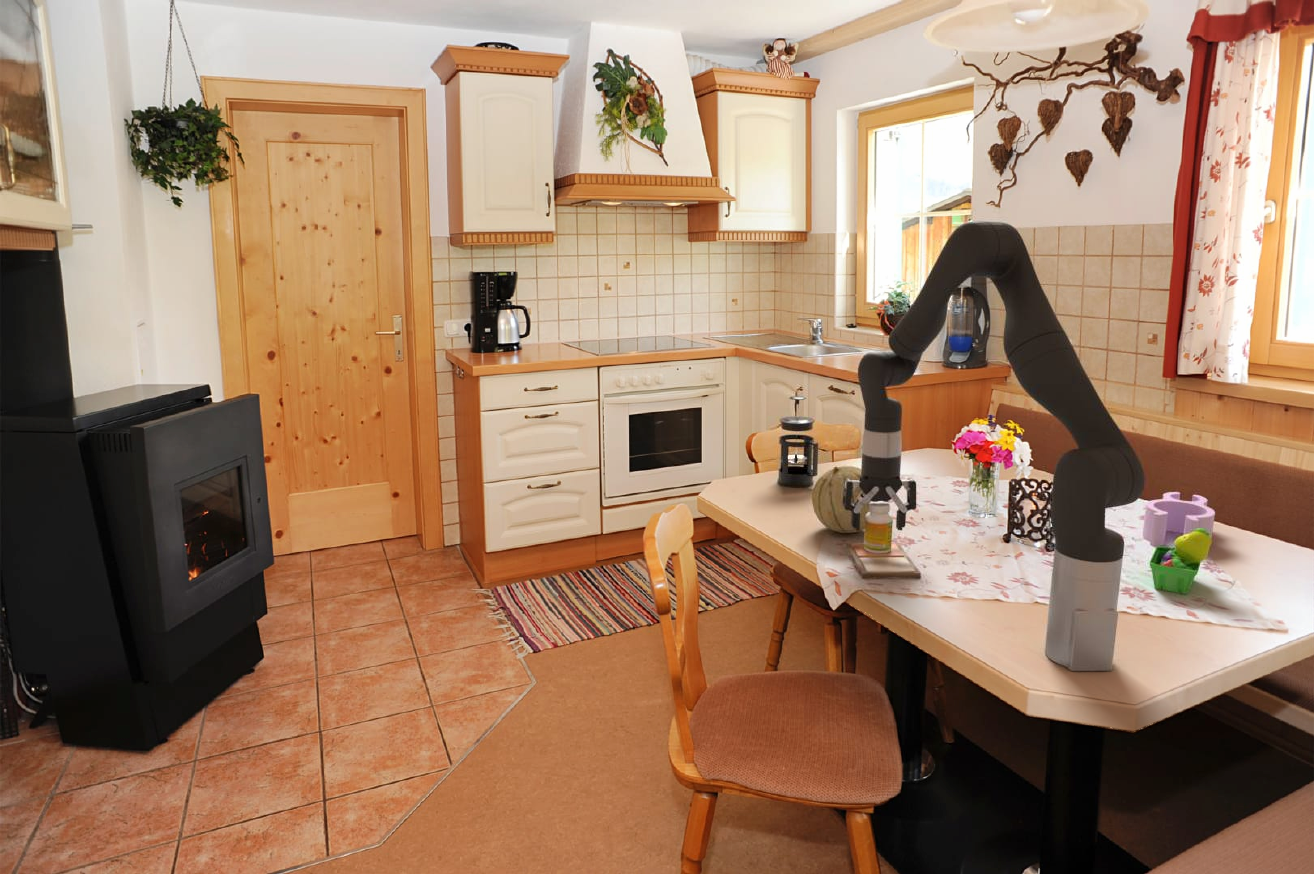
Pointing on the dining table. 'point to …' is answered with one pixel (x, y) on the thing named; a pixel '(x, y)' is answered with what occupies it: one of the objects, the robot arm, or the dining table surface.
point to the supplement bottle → (878, 528)
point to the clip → (1176, 517)
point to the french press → (796, 474)
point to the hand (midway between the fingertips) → (877, 529)
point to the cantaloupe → (837, 499)
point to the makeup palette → (883, 562)
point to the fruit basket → (1180, 561)
